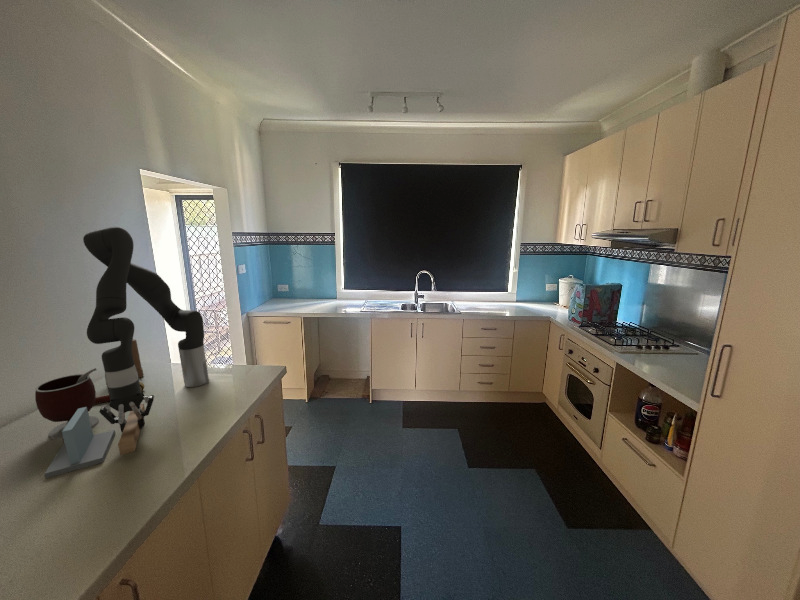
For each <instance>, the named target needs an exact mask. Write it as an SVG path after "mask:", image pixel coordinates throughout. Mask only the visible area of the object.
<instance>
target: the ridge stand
mask: <svg viewBox="0 0 800 600" xmlns="http://www.w3.org/2000/svg"><path fill="white" fill-rule="evenodd" d="M89 416H90V415H89V412H88V410H87V407H83V408H79V409H78V410H77V411H76V412H75V414H74V415H73V417H72V418H71V420H70V421H69V422H68V424H67V425H66V427H65V428H64V429H63V431H62V434H63V442H64V443H63V444H62V446H61V448H60V449H59V450H58V452H57V453H56V454H55V456H54V458H53V459H52V461H51V462H50V464H49V466H48V468H46V469H45V472H44V473H43V476H44V478H45V479H48V478H52V477H56V476H59V475H62V474H66V473H70V472H73V471H77V470H81V469H84V468H87V467H92V466H95V465H98V464H102V463H104V461H105V459H106V456H107V454H108V452H109V450H110V447H111V445H112V443H113V440H114V437H115V435H116V430H115V429H112V430H108V431H104V432H99V433H96V434H94V432H93V428H92V427H91V423H90V418H89Z"/></svg>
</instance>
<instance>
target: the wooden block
mask: <svg viewBox="0 0 800 600" xmlns="http://www.w3.org/2000/svg"><path fill="white" fill-rule="evenodd" d="M138 347H139V346H138V343H137V339H135V338H133V341H132V355H133V359H134V364H135V367H136V370H137V373H138V378H143V377H144V370H143V367H142V363H141V358H140V353H139V348H138Z"/></svg>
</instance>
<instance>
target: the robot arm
mask: <svg viewBox="0 0 800 600" xmlns="http://www.w3.org/2000/svg"><path fill="white" fill-rule="evenodd" d="M83 244H84V246H85V248H86V249H87V251H88V252H89V253H90V254H91V255H92V256H93V257H94V258H95V259H97V260H98V261H99V262H100V263H102V264H104V266H106V267H107V268H106V269H105V271H104V272H103V274H102V276H101V277H100V279H99V281H98V283H97V285H96V290H95V308H94V311H93V314H92V316H91V318H90V320H89V323H88V325H87V328H86V336H87V337H86V338H87V339H88V340H89V341H90V343H92V344H96V345H102V344H108V343H109V344H110V343H117V342H120V345H119V346H115V347H113V348H109V349H107V350H105V351H103V352H102V354H101V361H102V365H103V366H102V367H103V370H104V378H105V385H106V387H107V391H108V395H109V397H110V401H109V402H108V404H106V405H102V406H101V407H100V410H99V414H101V416H103V418H105V419H106V421H108V422H109V423H110V425H115V424H118V425H119V428H120V432H121V433H122V432H123V430H124V427H125V425H126V422H127V419H126V413H128V412H130V411H133V412H134V414H136V416H137V418H138V419H137V421H138V425H139V429H140V431H142V430H143V429H144V427H145V424H146V422H145V417H146V416H149V414H150V412H151V409H152V405H153V402H154V399H155V395H153V394H152V395H145V394H144V393H143V391H142V392H141V388H140V383H139V382H140V380H139V378H138V373H137V370H136V367H135V364H134V359H133V355H132V341H133V339H134V334H135V324H134V322H133V320H132V319H130V318H128V317H114V316H118V315H120V314H122V313H124V312H125V311H127V306H128V305H127V284H128V285H129V286H130V287H131V289H132V290H134V291H135V292H136V294H138V295H139V296H140V297H141V298H142V299H143V300H145V301H146V302H147V304H149V305H150V306H151V307H152V308H153V309H154V310H155V311H156V312H157V313H158V314H159V315H160V316H161V317H162V319H163V320H164V321H165V322H166V323H167V324H168V326H169V327H170V328H171V329H172V330H174V331H175V332H182V333H183V332H184V333H185V338H183V339H181V340H179V341H178V342H177V347H178V353H179V360H180V366H181V372H182V377H183V383H184V387H185V388H196V387H201V386H203V385H206V384H209V383H210V380H209V379H210V376H209V370H208V364H207V359H206V353H205V346H204V339H205V328H204V320H203V316H202V314H201V312H199V311H198V310H188V309H181V308H180V307H179V306H178V305H177V304H175V302H174V301H173V300H172V293H171V292H172V291H171V288H170V286H169V285H168V284H167V283H166V282H165V280H164V279H163V278H162V277H161V276H160V275H159V274H158V273H156V272H154V271H152V270H150V269H148V268H145V267H143V266H140V265H138V264H136V263H133V262H132V258H133V253H134V248H135V247H134V240H133V238H132V235H131V234H130V233H129V231H127V229H125V228H124V227H120V226H111V227H106V228H103V229H98V230H94V231H90V232H87V233H86V234H84V236H83ZM112 317H113V318H112ZM143 401H144V404H146V407H145V411H143V412H142V410H141V407H140V404H142V402H143ZM112 409H113V410H115V411H117V412H118V416H116V415H115V414H114V413H113V412H112Z"/></svg>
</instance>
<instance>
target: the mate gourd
mask: <svg viewBox="0 0 800 600" xmlns="http://www.w3.org/2000/svg"><path fill="white" fill-rule="evenodd" d="M95 371H97V368H96V367H94V368H92V369H90V370H89V371H87V372H85V373H77V374H69V375H65V376H61V377H57V378H53V379H50V380H47V381H45V382H43V383H41V384H39V385H37V386H36V387H35V388H34V390H35V391H34V392H35V393H34V395H35V396H34V398H35V404H36V407H37V410H38V411H39V413H40V415H41V416H42V417H43V419H45V420H48V421H50V422H55V423H59V422H63V423H60V424H58V425H57V426H55V427H54V428H52V429H51V430H50V431H49V433H48V436H49V438H50V439H52V440H62V439H63V440H64V438H63V434H62V431H63V429H64V428H65V427H66V425H67V424H68V422H69V421H70V420H71V418H72V417H73V415H74V414H75V412H76V411H77V410H78V409H79V408H83V407H87V410H88V413H89V412H90V411H91V409H92V408H93V406H94V404H95V400H96V398H97V396H96V393H97V392H96V387H95V384H94V382H93V380H92V378H91V375H90V374H92V373H93V372H95ZM95 405H96V404H95ZM89 418H90V423H91V427H92V429H93V428H94V427H96V426H97V425H98V424H99V421H100V419H99V417H97V416H92V415H91V416H90V415H89Z"/></svg>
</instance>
